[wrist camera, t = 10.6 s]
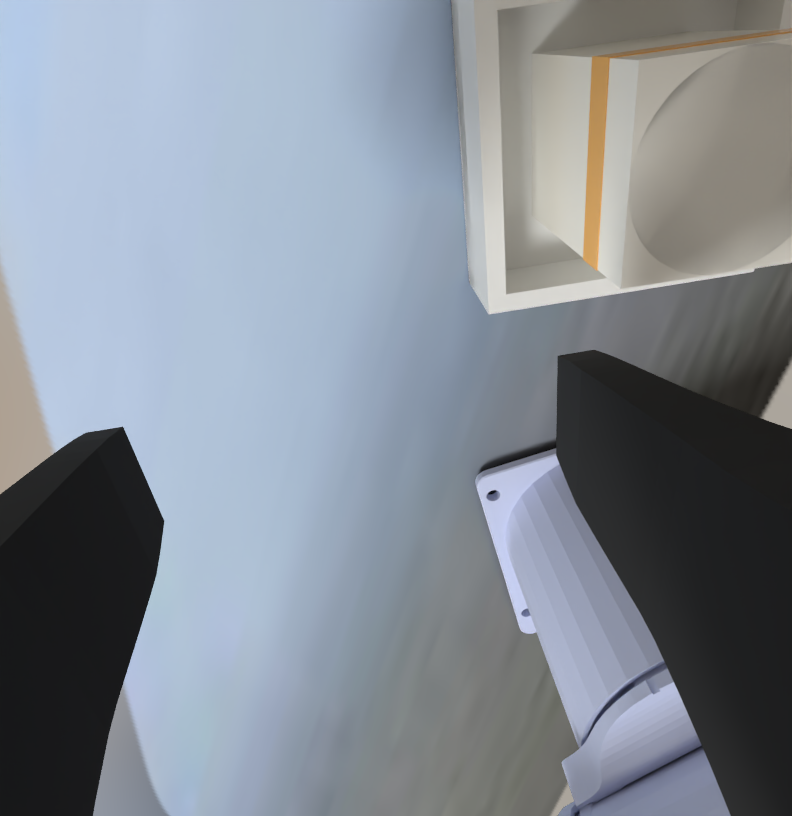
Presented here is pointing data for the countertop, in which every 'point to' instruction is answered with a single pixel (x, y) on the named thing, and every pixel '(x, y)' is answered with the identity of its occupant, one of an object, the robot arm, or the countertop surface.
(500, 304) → the tray
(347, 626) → the countertop surface
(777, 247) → the block
